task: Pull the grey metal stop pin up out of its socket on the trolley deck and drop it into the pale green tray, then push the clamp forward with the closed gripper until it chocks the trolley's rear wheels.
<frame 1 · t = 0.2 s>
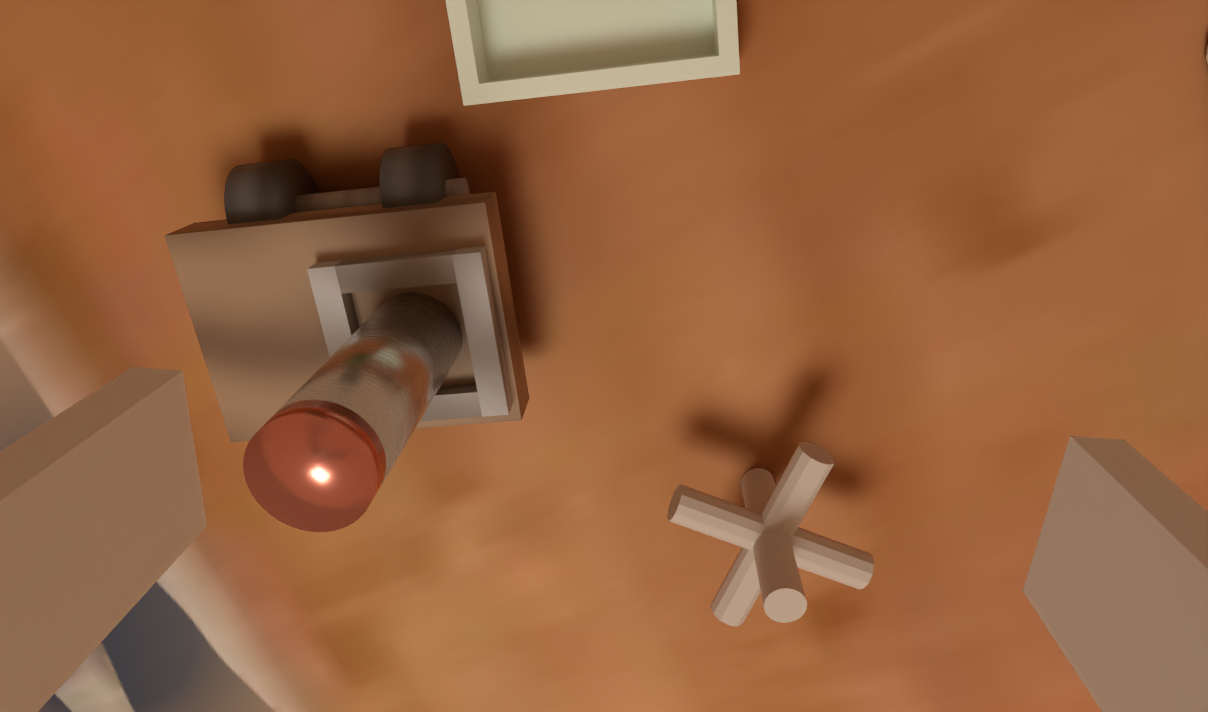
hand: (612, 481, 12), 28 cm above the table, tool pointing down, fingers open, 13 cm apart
pipe connector: (757, 480, 44), on the table
trolley: (387, 292, 41), on the table
pin: (417, 335, 35), point 5 cm above the table, touching trolley
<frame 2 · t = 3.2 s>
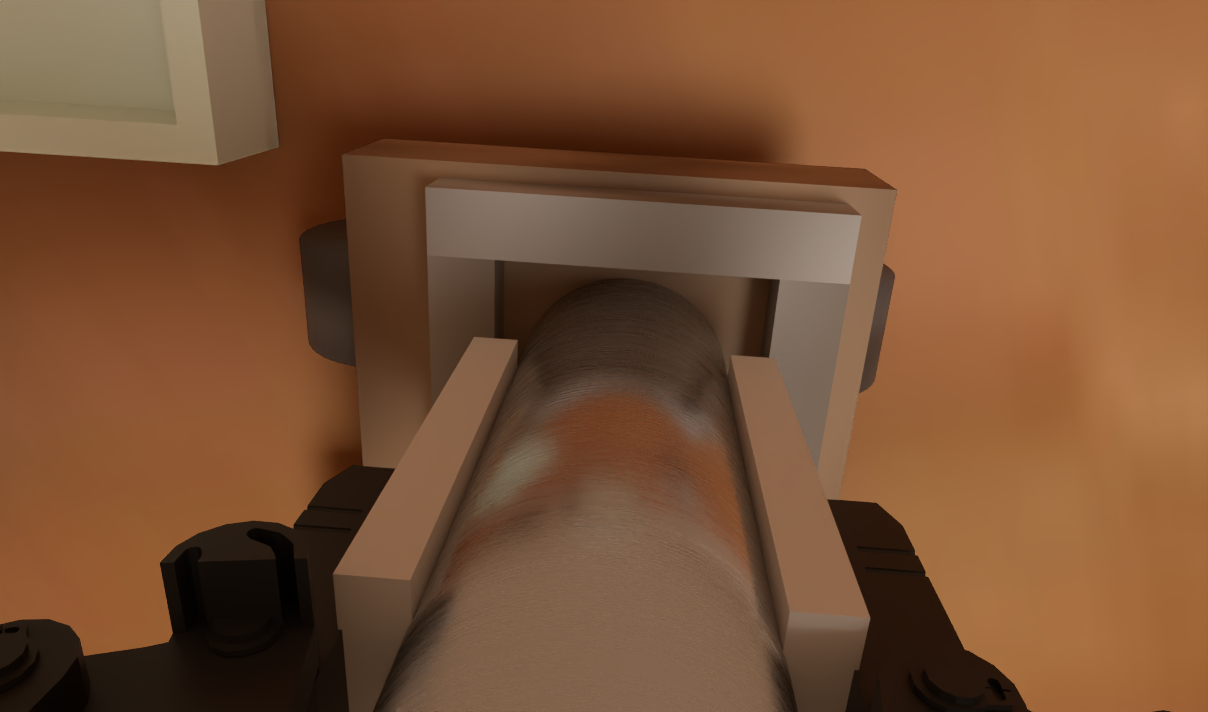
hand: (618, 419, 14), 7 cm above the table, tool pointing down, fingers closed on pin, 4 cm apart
trolley: (610, 397, 22), on the table
pin: (623, 375, 16), point 6 cm above the table, touching gripper, trolley
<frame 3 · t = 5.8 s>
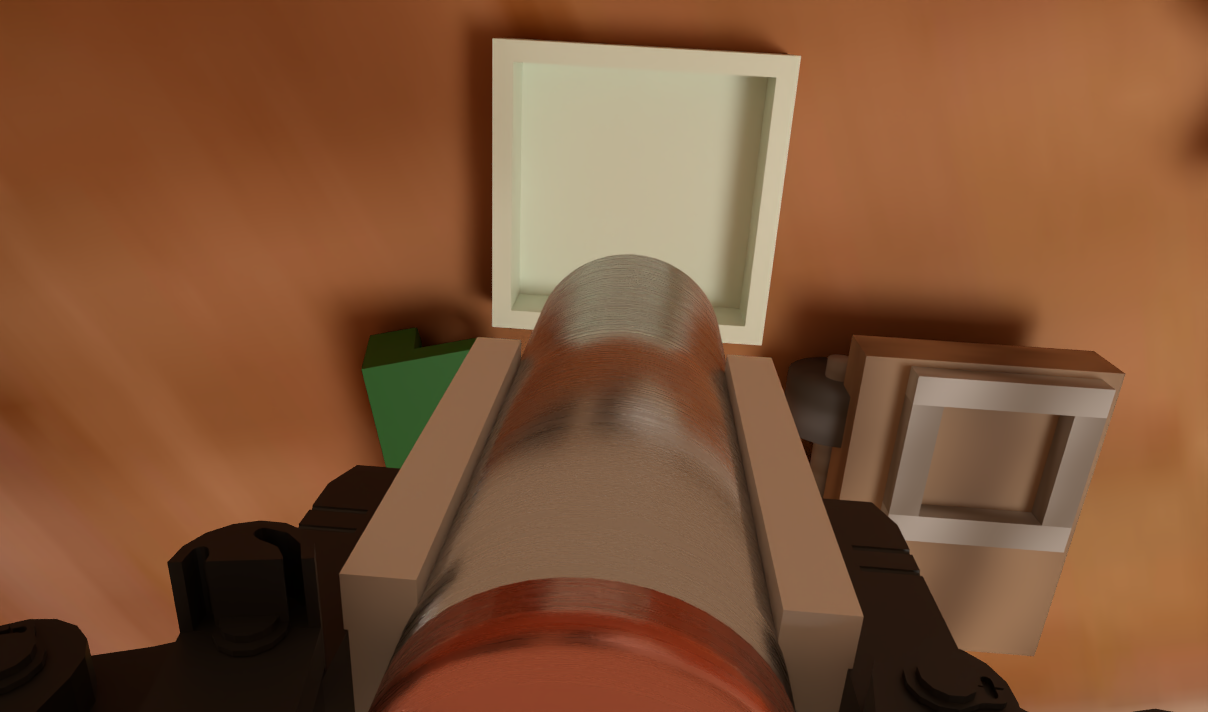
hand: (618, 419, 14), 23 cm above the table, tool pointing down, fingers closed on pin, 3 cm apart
clamp: (470, 419, 40), on the table
tray: (636, 187, 35), on the table
trolley: (916, 453, 39), on the table
pin: (627, 343, 18), point 19 cm above the table, touching gripper
when the fingers open (4 cm above the table, at t = 8.8 s): pin stays where it is, resting on tray.
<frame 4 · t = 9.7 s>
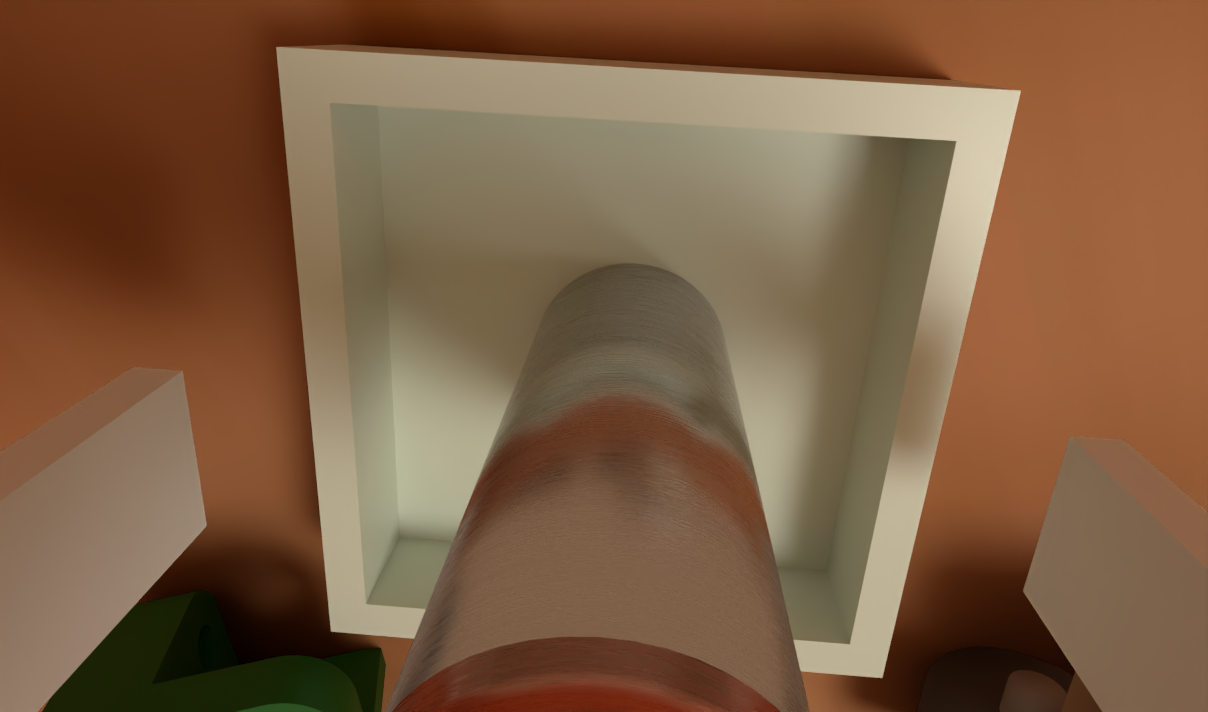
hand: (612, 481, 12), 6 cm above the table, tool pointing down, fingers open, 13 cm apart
tray: (625, 345, 17), on the table
pin: (629, 355, 17), point 1 cm above the table, touching tray
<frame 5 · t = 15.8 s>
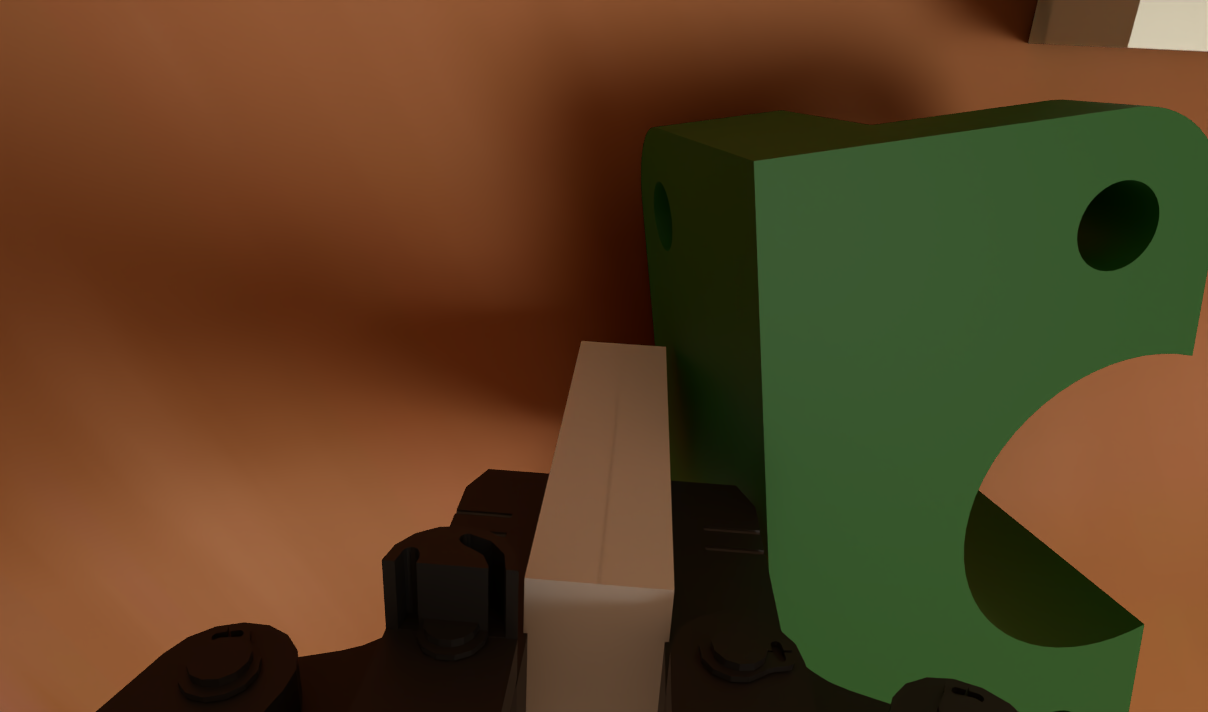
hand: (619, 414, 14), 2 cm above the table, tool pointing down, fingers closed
clamp: (839, 384, 16), on the table, touching gripper
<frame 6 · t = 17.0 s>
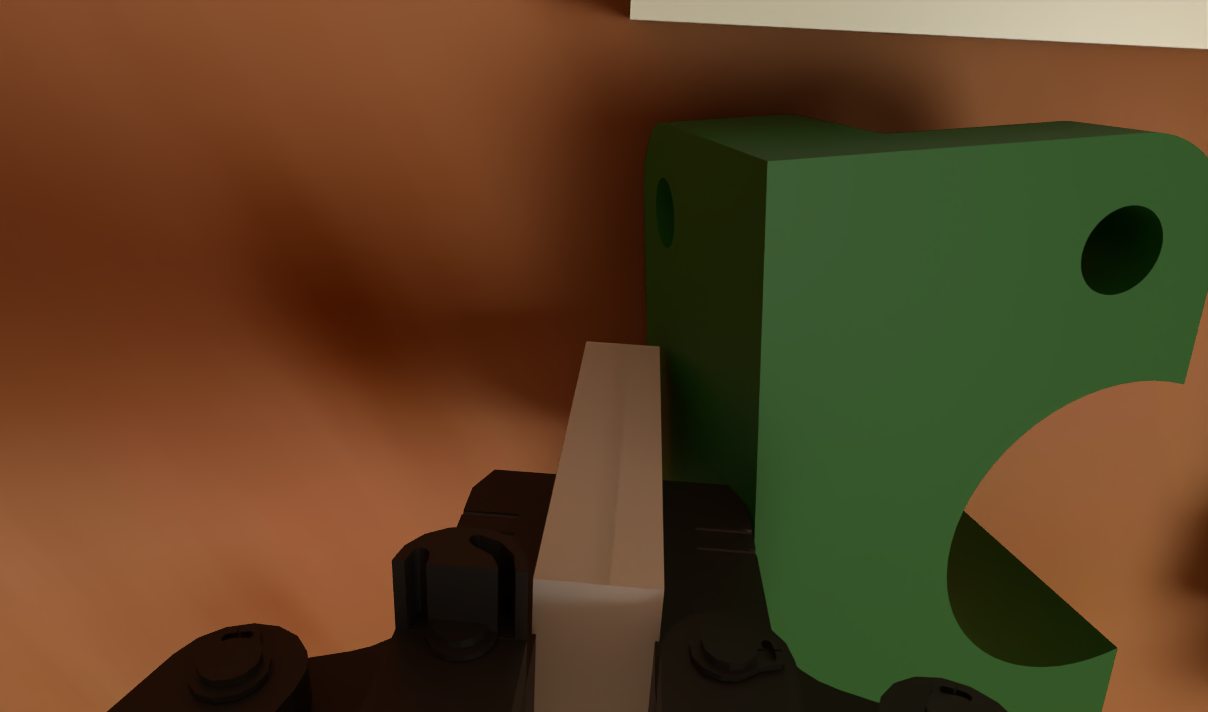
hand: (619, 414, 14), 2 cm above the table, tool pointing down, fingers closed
clamp: (827, 393, 16), on the table, touching gripper
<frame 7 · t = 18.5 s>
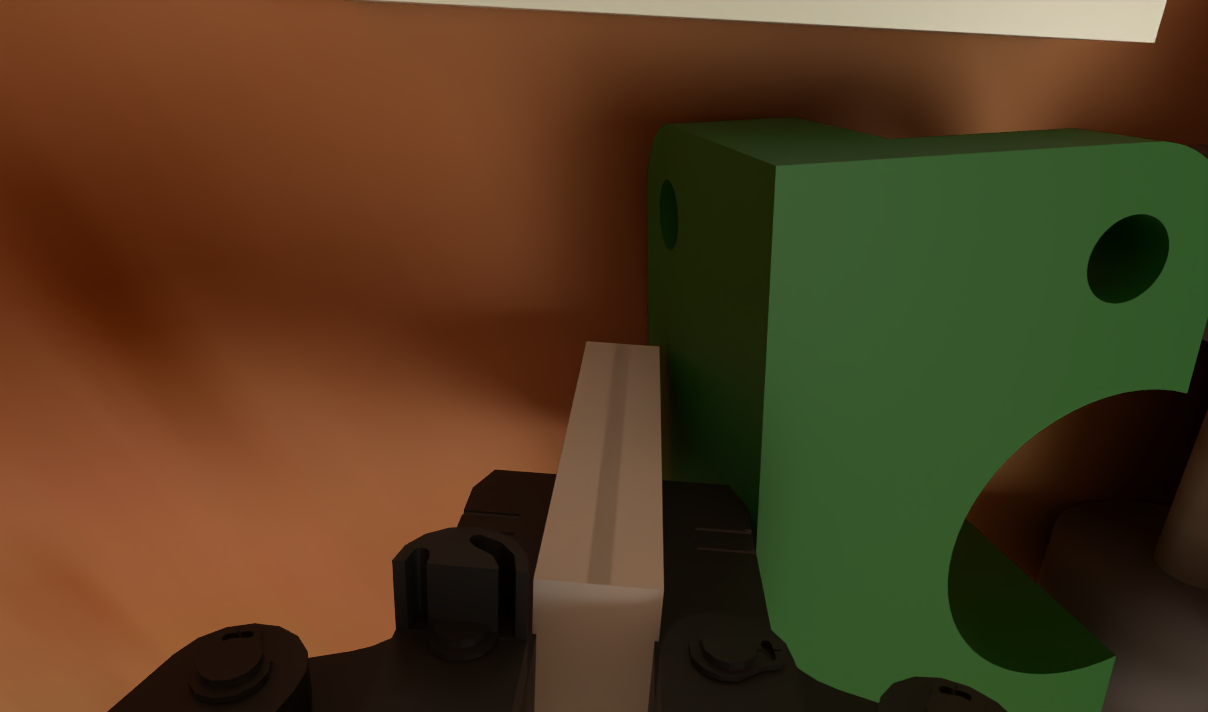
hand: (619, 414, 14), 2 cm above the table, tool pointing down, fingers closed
clamp: (828, 397, 16), on the table, touching gripper
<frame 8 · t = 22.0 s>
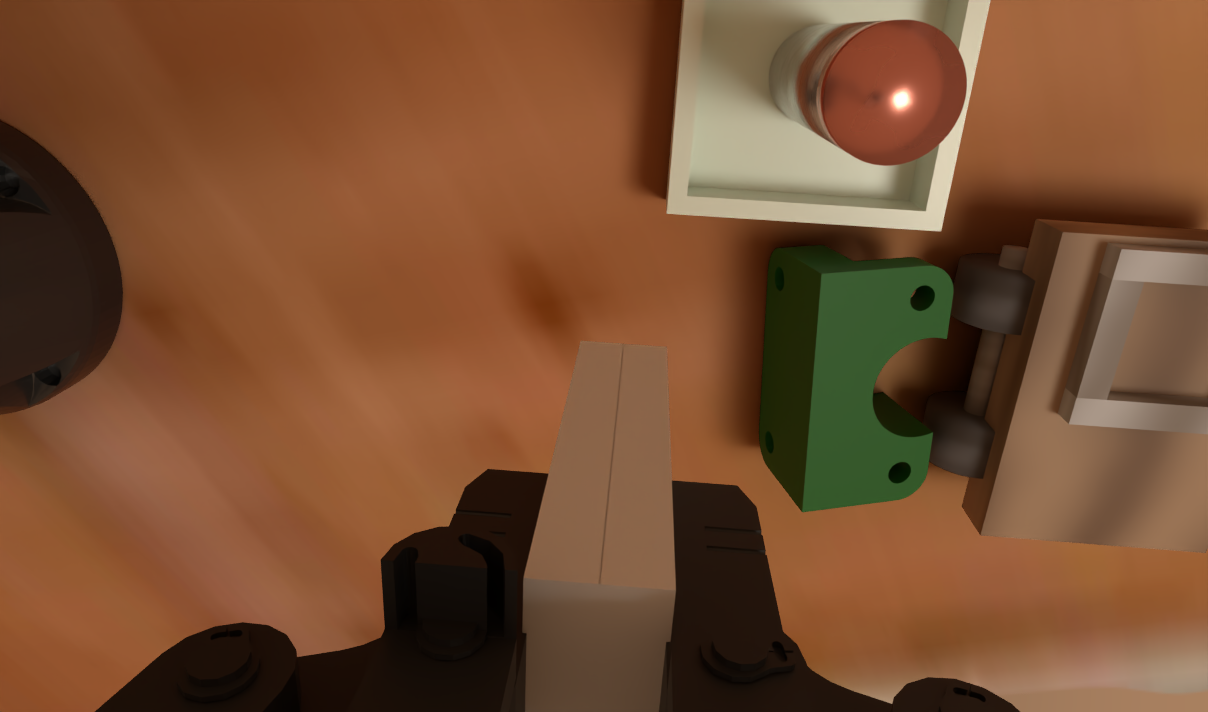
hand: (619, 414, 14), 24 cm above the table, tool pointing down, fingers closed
clamp: (834, 348, 40), on the table
tray: (810, 74, 35), on the table
trolley: (1075, 355, 39), on the table
pin: (816, 75, 34), point 1 cm above the table, touching tray
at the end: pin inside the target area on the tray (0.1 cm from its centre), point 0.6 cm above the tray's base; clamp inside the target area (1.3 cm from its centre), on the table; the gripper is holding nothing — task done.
